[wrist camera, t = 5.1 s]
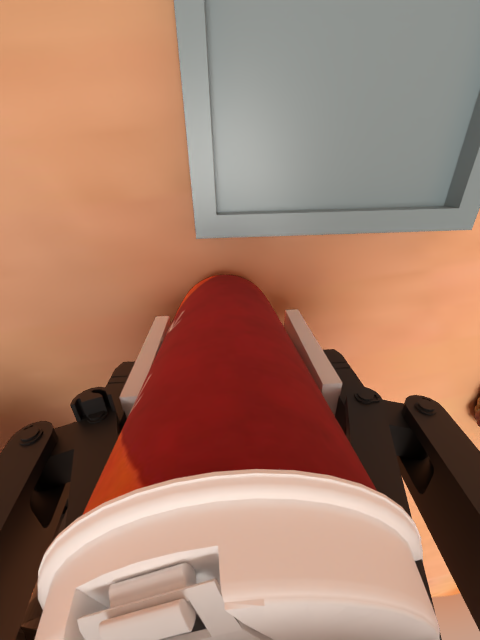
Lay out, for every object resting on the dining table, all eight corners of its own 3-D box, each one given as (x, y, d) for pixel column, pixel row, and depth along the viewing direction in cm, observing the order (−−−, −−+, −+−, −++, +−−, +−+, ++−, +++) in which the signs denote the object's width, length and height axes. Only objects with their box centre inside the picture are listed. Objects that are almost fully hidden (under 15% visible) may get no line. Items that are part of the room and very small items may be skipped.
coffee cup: (137, 288, 17) (-165, 692, 4) (260, 232, 16) (478, 514, 3) (199, 382, 21) (162, 752, 7) (301, 343, 20) (476, 689, 6)
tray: (198, 232, 17) (196, 238, 15) (156, -244, 9) (141, -340, 8) (446, 224, 18) (471, 229, 16) (593, -228, 10) (671, -313, 8)
